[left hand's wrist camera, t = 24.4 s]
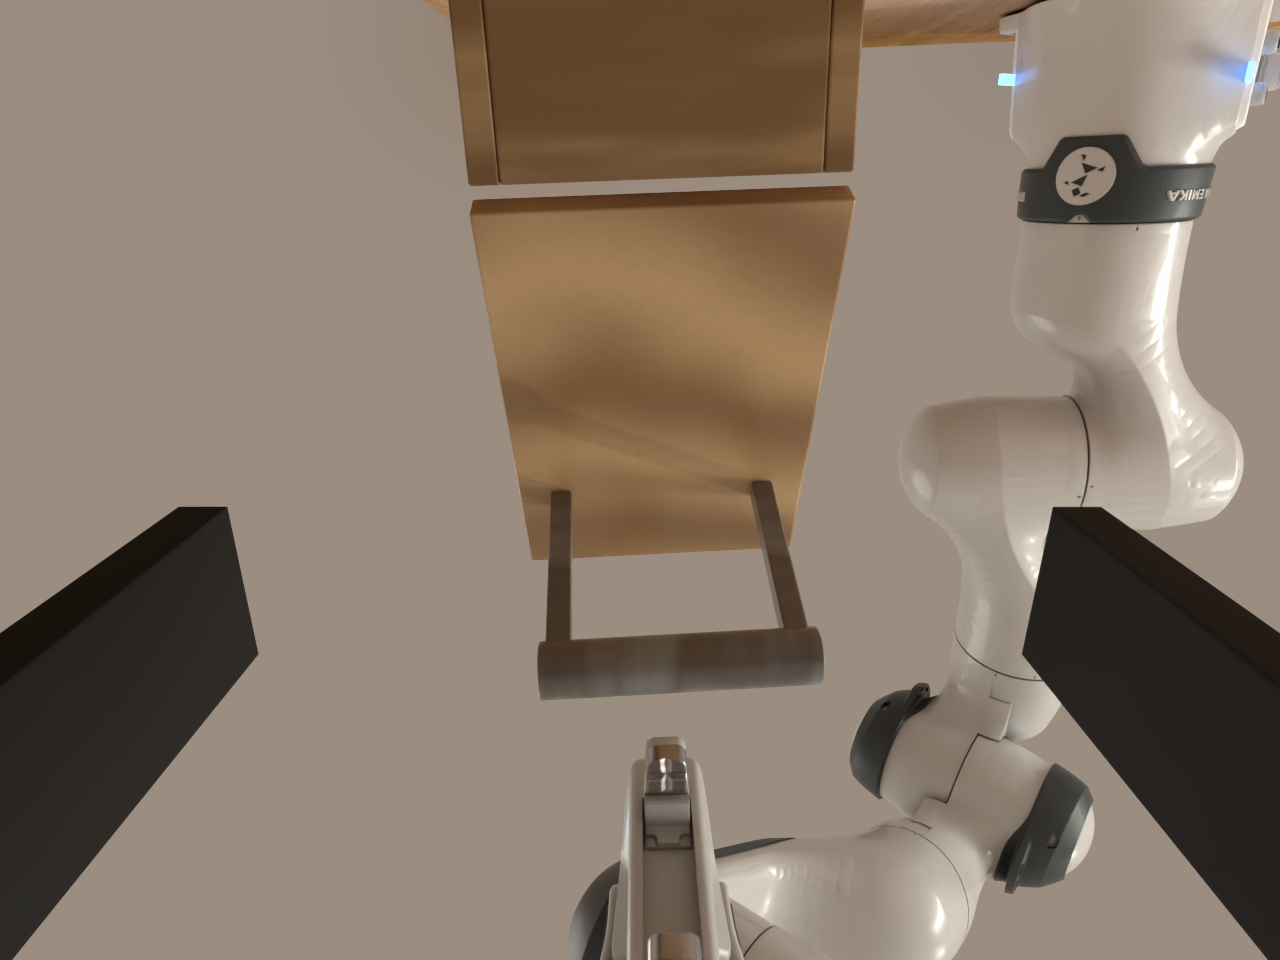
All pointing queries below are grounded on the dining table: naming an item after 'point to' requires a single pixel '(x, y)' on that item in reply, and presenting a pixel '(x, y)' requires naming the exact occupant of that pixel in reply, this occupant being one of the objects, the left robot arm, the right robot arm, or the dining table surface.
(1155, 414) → the right robot arm
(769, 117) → the chest
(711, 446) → the hinged panel with handle
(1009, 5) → the dining table surface
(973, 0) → the dining table surface
